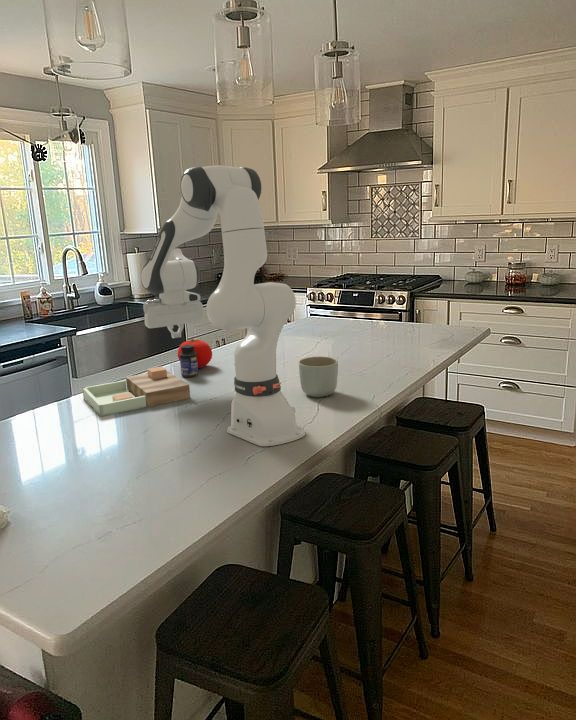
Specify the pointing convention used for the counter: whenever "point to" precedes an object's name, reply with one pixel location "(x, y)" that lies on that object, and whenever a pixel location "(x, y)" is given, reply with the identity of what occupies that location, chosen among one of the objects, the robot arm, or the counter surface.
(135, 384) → the board
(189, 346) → the pill bottle
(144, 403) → the tray
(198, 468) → the counter surface
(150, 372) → the tile
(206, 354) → the tomato
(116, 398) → the tile
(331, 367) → the planter
